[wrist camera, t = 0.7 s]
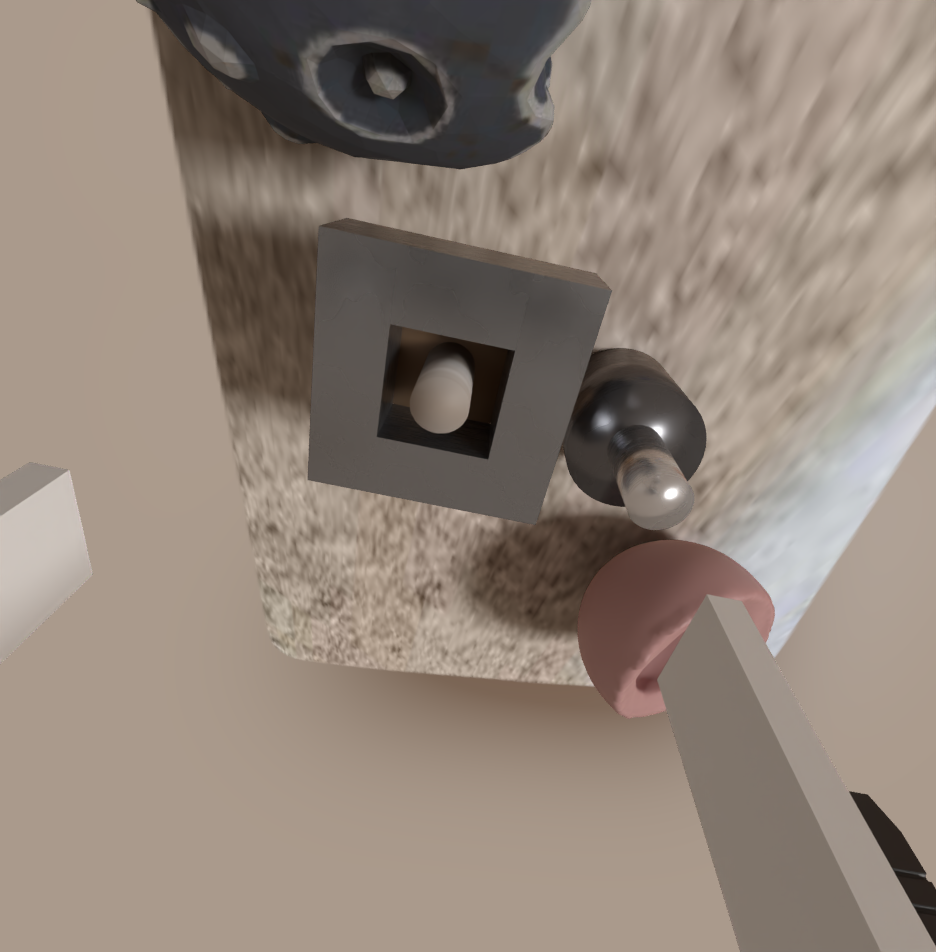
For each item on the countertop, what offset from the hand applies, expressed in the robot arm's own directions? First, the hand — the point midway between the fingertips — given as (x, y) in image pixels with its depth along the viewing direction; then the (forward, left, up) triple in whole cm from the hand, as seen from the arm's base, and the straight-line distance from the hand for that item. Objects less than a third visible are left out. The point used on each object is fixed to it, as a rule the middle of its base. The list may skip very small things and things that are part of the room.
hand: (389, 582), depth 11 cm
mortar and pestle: (+15, +17, -22) cm, 32 cm away
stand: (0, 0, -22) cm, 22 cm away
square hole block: (0, 0, -14) cm, 14 cm away
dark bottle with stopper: (+3, +10, -22) cm, 24 cm away
